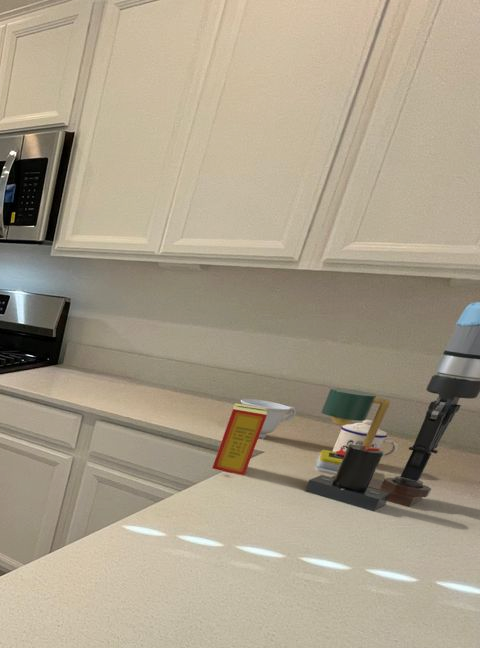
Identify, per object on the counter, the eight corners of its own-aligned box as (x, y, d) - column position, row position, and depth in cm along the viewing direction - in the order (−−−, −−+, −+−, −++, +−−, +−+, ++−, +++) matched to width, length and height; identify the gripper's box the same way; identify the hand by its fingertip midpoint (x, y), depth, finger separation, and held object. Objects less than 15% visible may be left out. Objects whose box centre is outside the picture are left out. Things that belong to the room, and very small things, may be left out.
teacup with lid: (331, 460, 161) (348, 420, 157) (326, 452, 168) (343, 413, 164) (391, 471, 154) (411, 430, 150) (384, 463, 161) (403, 423, 157)
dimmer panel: (386, 504, 131) (392, 491, 130) (372, 512, 126) (378, 499, 125) (318, 485, 141) (323, 473, 140) (302, 492, 136) (308, 479, 135)
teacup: (298, 443, 175) (311, 411, 172) (244, 438, 177) (256, 406, 173) (272, 432, 186) (283, 401, 183) (221, 427, 188) (232, 397, 185)
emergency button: (369, 453, 154) (371, 465, 144) (363, 468, 156) (363, 481, 145) (323, 443, 160) (321, 455, 150) (316, 458, 162) (314, 470, 151)
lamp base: (428, 501, 135) (436, 485, 133) (416, 509, 130) (424, 493, 128) (342, 478, 147) (348, 464, 145) (328, 485, 142) (334, 469, 140)
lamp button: (422, 488, 133) (425, 481, 133) (416, 491, 131) (420, 484, 130) (395, 481, 137) (399, 474, 136) (390, 484, 134) (393, 477, 134)
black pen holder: (349, 490, 130) (366, 451, 126) (326, 480, 135) (342, 442, 132) (373, 491, 130) (391, 452, 127) (349, 482, 135) (366, 444, 132)
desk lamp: (374, 471, 141) (407, 399, 134) (363, 476, 137) (397, 402, 130) (309, 455, 151) (337, 386, 144) (297, 459, 147) (325, 389, 140)
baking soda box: (244, 475, 144) (267, 413, 139) (212, 468, 148) (233, 407, 143) (245, 466, 151) (267, 407, 146) (215, 459, 155) (235, 401, 150)
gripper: (478, 382, 119) (424, 489, 127) (491, 379, 125) (440, 480, 134) (425, 375, 125) (378, 476, 133) (441, 371, 131) (395, 468, 139)
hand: (409, 478), depth 133 cm, fingers closed
